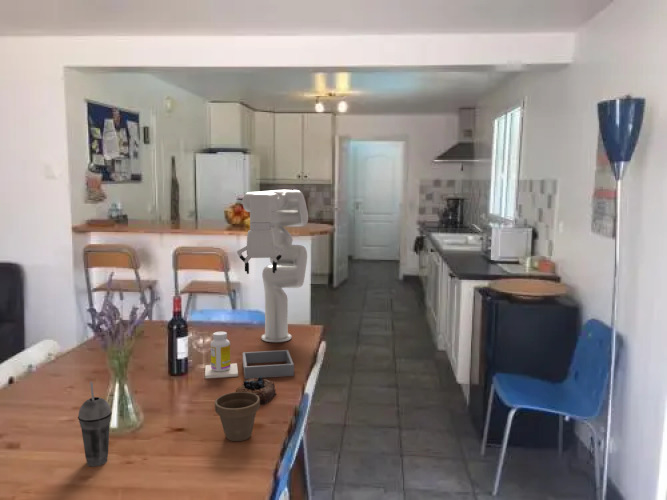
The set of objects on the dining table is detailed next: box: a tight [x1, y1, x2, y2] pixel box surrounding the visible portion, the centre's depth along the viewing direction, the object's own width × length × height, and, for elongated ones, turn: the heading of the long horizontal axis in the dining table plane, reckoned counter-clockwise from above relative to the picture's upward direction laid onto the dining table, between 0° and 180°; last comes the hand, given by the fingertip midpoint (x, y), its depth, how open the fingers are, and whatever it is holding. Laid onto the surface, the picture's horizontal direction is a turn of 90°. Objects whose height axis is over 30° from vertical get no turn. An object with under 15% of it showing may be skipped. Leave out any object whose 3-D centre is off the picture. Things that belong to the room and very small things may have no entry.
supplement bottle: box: [210, 331, 232, 372], centre depth 192 cm, size 7×7×13 cm
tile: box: [204, 362, 239, 379], centre depth 193 cm, size 11×11×1 cm
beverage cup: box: [77, 381, 113, 468], centre depth 129 cm, size 7×7×20 cm
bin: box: [242, 349, 295, 380], centre depth 196 cm, size 17×17×4 cm
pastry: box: [235, 377, 277, 405], centre depth 170 cm, size 11×12×6 cm
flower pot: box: [214, 391, 261, 442], centre depth 143 cm, size 12×11×10 cm
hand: (260, 273), depth 206 cm, fingers open, 9 cm apart
